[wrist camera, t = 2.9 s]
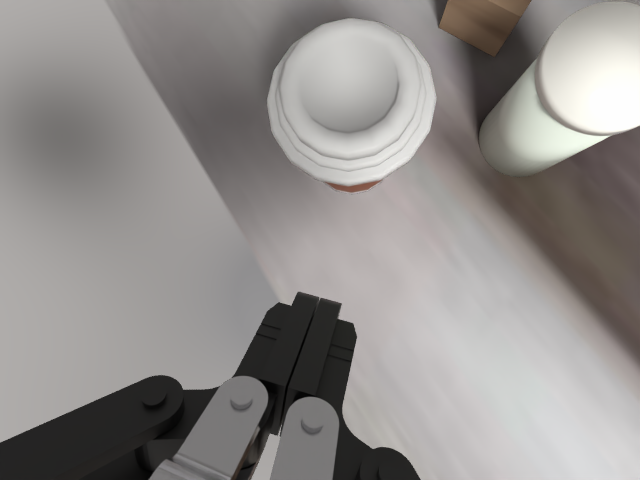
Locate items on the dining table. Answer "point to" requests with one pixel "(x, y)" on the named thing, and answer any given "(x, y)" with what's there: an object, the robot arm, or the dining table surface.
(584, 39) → the canister
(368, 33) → the coffee cup
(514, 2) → the walnut block
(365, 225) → the dining table surface
